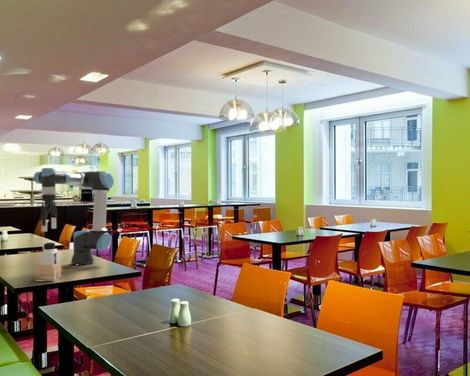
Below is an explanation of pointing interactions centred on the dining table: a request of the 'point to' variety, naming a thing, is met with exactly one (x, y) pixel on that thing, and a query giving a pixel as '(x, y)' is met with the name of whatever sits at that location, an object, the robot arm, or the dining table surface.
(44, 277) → the tower bottom
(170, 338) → the dining table surface
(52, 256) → the container
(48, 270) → the tower top
